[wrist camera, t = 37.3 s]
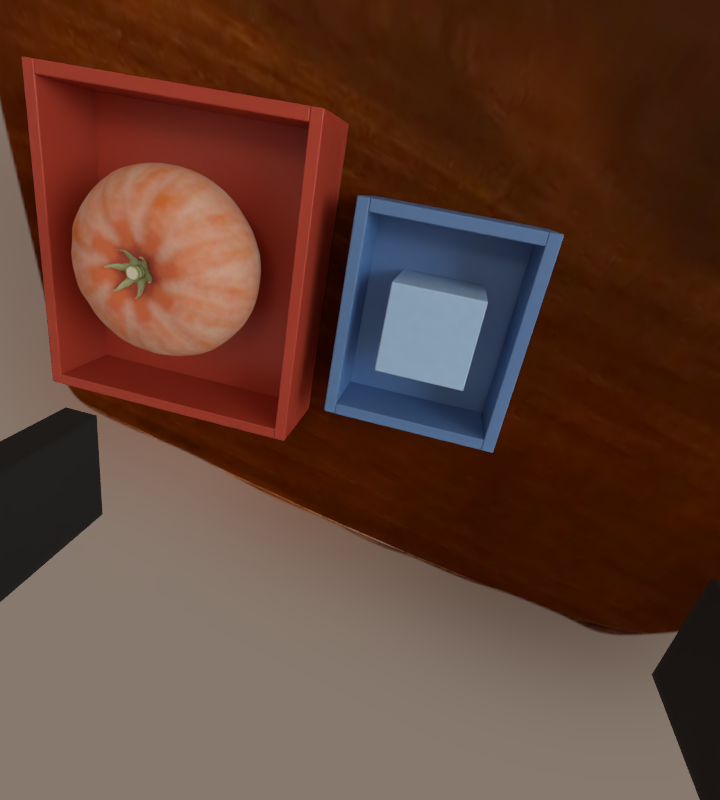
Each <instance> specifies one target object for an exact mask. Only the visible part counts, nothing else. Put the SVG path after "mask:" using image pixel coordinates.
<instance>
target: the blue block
mask: <svg viewBox="0 0 720 800" xmlns="http://www.w3.org/2000/svg"><path fill="white" fill-rule="evenodd" d="M487 304H488V301H487V295H486V289H485V286H483V285H478V284H474V283H469V282H464V281H459V280H454V279H449V278H445V277H440V276H435V275H430V274H425V273H421V272H416V271H411V270H406V269H404V270H403V271H402V272H401V273H400V274H399V275H398V276H397V277H396V278H395V279H394V280H393V282H392V283H391V288H390V294H389V299H388V304H387V309H386V314H385V319H384V324H383V329H382V335H381V340H380V345H379V350H378V355H377V360H376V365H375V370H376V371H379V372H383V373H388V374H392V375H396V376H400V377H405V378H409V379H413V380H417V381H422V382H426V383H430V384H434V385H439V386H443V387H447V388H451V389H456V390H460V391H463V390H464V386H465V383H466V379H467V376H468V372H469V368H470V365H471V361H472V358H473V354H474V351H475V347H476V344H477V340H478V336H479V333H480V329H481V326H482V322H483V319H484V315H485V312H486V308H487Z"/></svg>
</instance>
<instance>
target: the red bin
mask: <svg viewBox="0 0 720 800" xmlns="http://www.w3.org/2000/svg"><path fill="white" fill-rule="evenodd" d="M22 67H23V77H24V87H25V97H26V107H27V118H28V128H29V138H30V148H31V159H32V169H33V179H34V189H35V199H36V210H37V220H38V230H39V240H40V251H41V261H42V271H43V281H44V291H45V302H46V312H47V322H48V332H49V343H50V353H51V363H52V373H53V380H54V381H55V382H59V383H63V384H66V385H70V386H74V387H78V388H81V389H85V390H89V391H93V392H97V393H101V394H105V395H108V396H112V397H116V398H120V399H124V400H128V401H131V402H135V403H139V404H143V405H147V406H151V407H155V408H158V409H162V410H166V411H170V412H174V413H178V414H182V415H185V416H189V417H193V418H197V419H201V420H205V421H209V422H212V423H216V424H220V425H224V426H228V427H232V428H236V429H239V430H243V431H247V432H251V433H255V434H259V435H263V436H266V437H270V438H275V439H278V440H282V441H284V440H285V439H286V438H287V436H288V435H289V434H290V432H291V431H292V430H293V428H294V427H295V426H296V425H297V423H298V422H299V421H300V419H301V418H302V417H303V415H304V414H305V413H306V411H307V410H308V409H309V404H310V397H311V390H312V383H313V376H314V369H315V362H316V355H317V348H318V341H319V334H320V326H321V319H322V312H323V305H324V298H325V291H326V284H327V277H328V270H329V263H330V256H331V248H332V241H333V234H334V227H335V220H336V213H337V206H338V199H339V192H340V185H341V178H342V170H343V163H344V156H345V149H346V142H347V135H348V128H349V124H348V123H347V122H345V121H344V120H342V119H340V118H339V117H337V116H336V115H334V114H332V113H331V112H329V111H328V110H326V109H324V108H320V107H315V106H309V105H303V104H297V103H291V102H285V101H280V100H274V99H268V98H262V97H256V96H250V95H245V94H239V93H233V92H227V91H221V90H216V89H210V88H204V87H198V86H192V85H186V84H181V83H175V82H169V81H163V80H157V79H151V78H146V77H140V76H134V75H128V74H122V73H116V72H111V71H105V70H99V69H93V68H87V67H82V66H76V65H70V64H64V63H58V62H52V61H47V60H41V59H34V58H29V57H22ZM140 163H165V164H171V165H177V166H181V167H184V168H187V169H190V170H193V171H195V172H198V173H200V174H202V175H203V176H205V177H206V178H208V179H210V180H211V181H213V182H214V183H215V184H217V185H218V186H219V187H220V188H221V189H223V190H224V191H225V192H226V193H227V194H228V195H229V196H230V197H231V198H232V199H233V201H234V202H235V203H236V204H237V206H238V207H239V209H240V210H241V212H242V213H243V215H244V216H245V218H246V220H247V222H248V223H249V225H250V227H251V229H252V231H253V234H254V236H255V239H256V242H257V245H258V249H259V253H260V260H261V280H260V286H259V292H258V296H257V300H256V303H255V306H254V309H253V311H252V313H251V314H250V316H249V318H248V320H247V321H246V322H245V324H244V325H243V326H242V327H241V328H240V329H239V330H238V331H237V332H236V333H235V334H234V335H233V336H232V337H231V338H230V339H228V340H227V341H226V342H224V343H223V344H222V345H220V346H218V347H217V348H215V349H213V350H211V351H208V352H205V353H202V354H197V355H188V356H171V355H163V354H157V353H153V352H150V351H147V350H144V349H142V348H139V347H136V346H134V345H132V344H130V343H128V342H126V341H124V340H123V339H121V338H120V337H119V336H117V335H116V334H115V333H114V332H113V331H112V330H110V329H109V328H108V327H107V326H106V325H105V324H104V323H103V322H102V321H101V320H100V319H99V318H98V316H97V315H96V314H95V312H94V311H93V309H92V307H91V306H90V304H89V302H88V301H87V300H86V298H85V297H84V296H83V294H82V293H81V291H80V289H79V286H78V283H77V280H76V277H75V272H74V268H73V264H72V255H71V249H72V227H73V223H74V220H75V217H76V215H77V212H78V210H79V208H80V206H81V205H82V203H83V201H84V200H85V198H86V197H87V195H88V194H89V193H90V191H91V190H92V189H93V188H94V186H96V185H97V184H98V183H99V182H100V181H101V180H102V179H104V178H105V177H106V176H108V175H109V174H110V173H112V172H113V171H115V170H117V169H120V168H122V167H125V166H129V165H134V164H140Z"/></svg>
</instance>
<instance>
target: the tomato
mask: <svg viewBox="0 0 720 800" xmlns="http://www.w3.org/2000/svg"><path fill="white" fill-rule="evenodd" d="M71 255H72V264H73V268H74V272H75V277H76V280H77V283H78V286H79V289H80V291H81V293H82V294H83V296H84V297H85V298H86V300H87V301H88V302H89V304H90V306H91V307H92V309H93V311H94V312H95V314H96V315H97V316H98V318H99V319H100V320H101V321H102V322H103V323H104V324H105V325H106V326H107V327H108V328H109V329H110V330H112V331H113V332H114V333H115V334H116V335H117V336H119V337H120V338H121V339H123V340H124V341H126V342H128V343H130V344H132V345H134V346H136V347H139V348H142V349H144V350H147V351H150V352H153V353H157V354H163V355H171V356H188V355H197V354H202V353H205V352H208V351H211V350H213V349H215V348H217V347H218V346H220V345H222V344H223V343H224V342H226V341H227V340H228V339H230V338H231V337H232V336H233V335H234V334H235V333H236V332H237V331H238V330H239V329H240V328H241V327H242V326H243V325H244V324H245V322H246V321H247V320H248V318H249V316H250V314H251V313H252V311H253V309H254V306H255V303H256V300H257V296H258V292H259V286H260V280H261V260H260V253H259V249H258V245H257V242H256V239H255V236H254V234H253V231H252V229H251V227H250V225H249V223H248V222H247V220H246V218H245V216H244V215H243V213H242V212H241V210H240V209H239V207H238V206H237V204H236V203H235V202H234V201H233V199H232V198H231V197H230V196H229V195H228V194H227V193H226V192H225V191H224V190H223V189H221V188H220V187H219V186H218V185H217V184H215V183H214V182H213V181H211V180H210V179H208V178H206V177H205V176H203V175H202V174H200V173H198V172H195V171H193V170H190V169H187V168H184V167H181V166H177V165H171V164H165V163H140V164H134V165H129V166H125V167H122V168H120V169H117V170H115V171H113V172H112V173H110V174H109V175H108V176H106V177H105V178H104V179H102V180H101V181H100V182H99V183H98V184H97V185H96V186H94V188H93V189H92V190H91V191H90V193H89V194H88V195H87V197H86V198H85V200H84V201H83V203H82V205H81V206H80V208H79V210H78V212H77V215H76V217H75V220H74V223H73V227H72V249H71Z"/></svg>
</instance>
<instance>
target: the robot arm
mask: <svg viewBox="0 0 720 800" xmlns="http://www.w3.org/2000/svg"><path fill="white" fill-rule="evenodd" d="M97 434H98V433H97V417H96V415H92V414H88V413H85V412H81V411H77V410H73V409H70V408H64V409H62V410H60V411H58V412H56V413H55V414H53V415H51V416H49V417H47V418H45V419H43V420H41V421H39V422H37V423H35V424H33V425H32V426H29V427H27V428H26V429H24V430H22V431H20V432H18V433H16V434H14V435H12V436H10V437H8V438H6V439H4V440H3V441H0V602H1V601H2V600H3V599H4V598H5V597H7V596H8V595H9V594H10V593H11V592H12V591H13V590H15V589H16V588H17V587H18V586H19V585H20V584H22V583H23V582H24V581H25V580H26V579H28V578H29V577H30V576H31V575H32V574H33V573H34V572H36V571H37V570H38V569H39V568H40V567H41V566H43V565H44V564H45V563H46V562H47V561H48V560H49V559H51V558H52V557H53V556H54V555H55V554H56V553H58V552H59V551H60V550H61V549H62V548H64V547H65V546H66V545H67V544H68V543H69V542H70V541H72V540H73V539H74V538H75V537H76V536H77V535H79V534H80V533H81V532H82V531H83V530H84V529H86V528H87V527H88V526H89V525H90V524H91V523H93V521H95V520H96V519H97V518H98V517H99V516H101V515H102V501H101V483H100V468H99V451H98V435H97ZM652 676H653V679H654V681H655V684H656V687H657V689H658V692H659V694H660V697H661V699H662V702H663V704H664V707H665V710H666V713H667V715H668V718H669V720H670V723H671V726H672V728H673V731H674V734H675V736H676V739H677V741H678V744H679V746H680V749H681V752H682V754H683V757H684V760H685V762H686V765H687V767H688V770H689V773H690V775H691V778H692V781H693V783H694V785H695V788H696V791H697V794H698V796H699V799H700V800H720V581H717V580H713V579H711V580H710V582H709V583H708V585H707V587H706V588H705V590H704V591H703V593H702V595H701V596H700V598H699V599H698V601H697V603H696V604H695V606H694V607H693V609H692V611H691V612H690V614H689V616H688V617H687V619H686V620H685V622H684V624H683V625H682V627H681V628H680V630H679V632H678V633H677V635H676V636H675V638H674V640H673V641H672V643H671V645H670V646H669V648H668V649H667V651H666V653H665V654H664V656H663V657H662V659H661V661H660V662H659V664H658V666H657V667H656V669H655V670H654V672H653V674H652Z"/></svg>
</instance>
